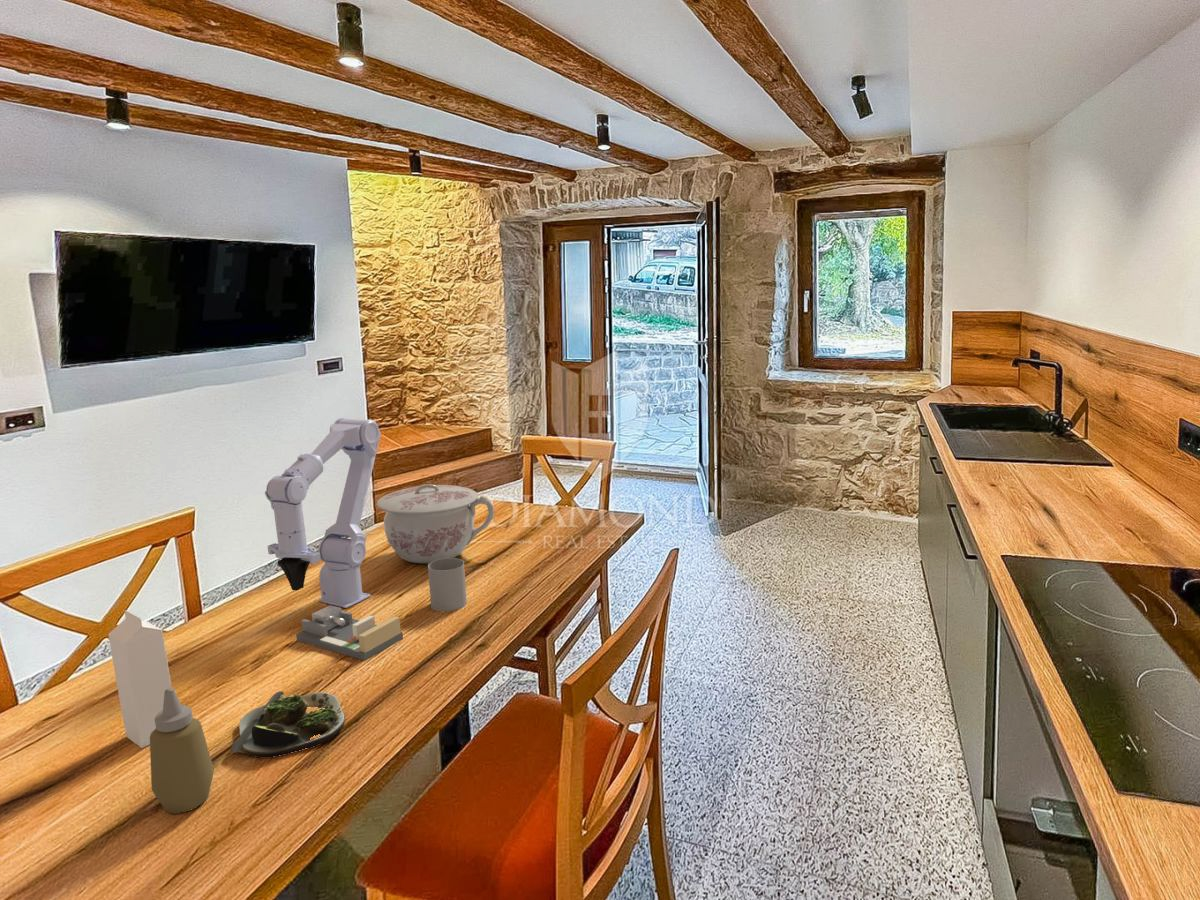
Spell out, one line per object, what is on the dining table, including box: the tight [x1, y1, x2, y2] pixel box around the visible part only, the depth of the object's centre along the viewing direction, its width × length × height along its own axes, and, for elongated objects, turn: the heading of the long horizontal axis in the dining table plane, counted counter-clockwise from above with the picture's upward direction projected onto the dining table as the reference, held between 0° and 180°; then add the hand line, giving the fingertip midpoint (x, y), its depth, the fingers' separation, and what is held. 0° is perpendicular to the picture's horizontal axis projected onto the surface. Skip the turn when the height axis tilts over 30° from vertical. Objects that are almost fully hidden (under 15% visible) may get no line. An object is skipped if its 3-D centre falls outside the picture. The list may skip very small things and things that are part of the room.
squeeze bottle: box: [149, 688, 215, 814], centre depth 110 cm, size 8×8×18 cm
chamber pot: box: [376, 483, 495, 565], centre depth 211 cm, size 28×28×21 cm
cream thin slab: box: [347, 615, 376, 643], centre depth 159 cm, size 1×7×3 cm, turn 151°
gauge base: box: [295, 610, 404, 662], centre depth 163 cm, size 20×11×5 cm, turn 61°
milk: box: [108, 610, 172, 749], centre depth 127 cm, size 6×6×22 cm
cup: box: [427, 557, 468, 612], centre depth 179 cm, size 8×8×10 cm
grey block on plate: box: [311, 604, 346, 630], centre depth 165 cm, size 6×5×4 cm
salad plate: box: [230, 691, 346, 758], centre depth 131 cm, size 19×18×5 cm
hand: (297, 588), depth 168 cm, fingers closed
